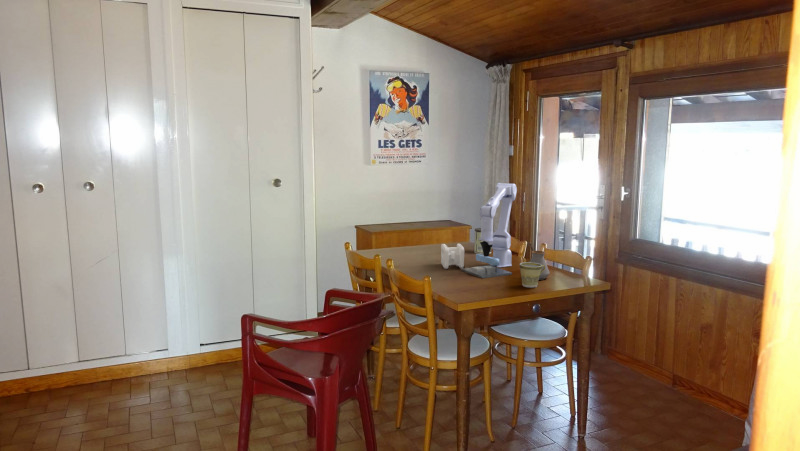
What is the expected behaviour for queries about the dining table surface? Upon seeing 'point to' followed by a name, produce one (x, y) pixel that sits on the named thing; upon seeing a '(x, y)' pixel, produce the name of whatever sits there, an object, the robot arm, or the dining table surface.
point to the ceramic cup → (530, 273)
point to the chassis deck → (487, 275)
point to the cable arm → (487, 259)
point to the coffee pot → (539, 261)
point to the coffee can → (478, 242)
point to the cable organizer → (452, 256)
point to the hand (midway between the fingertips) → (486, 256)
